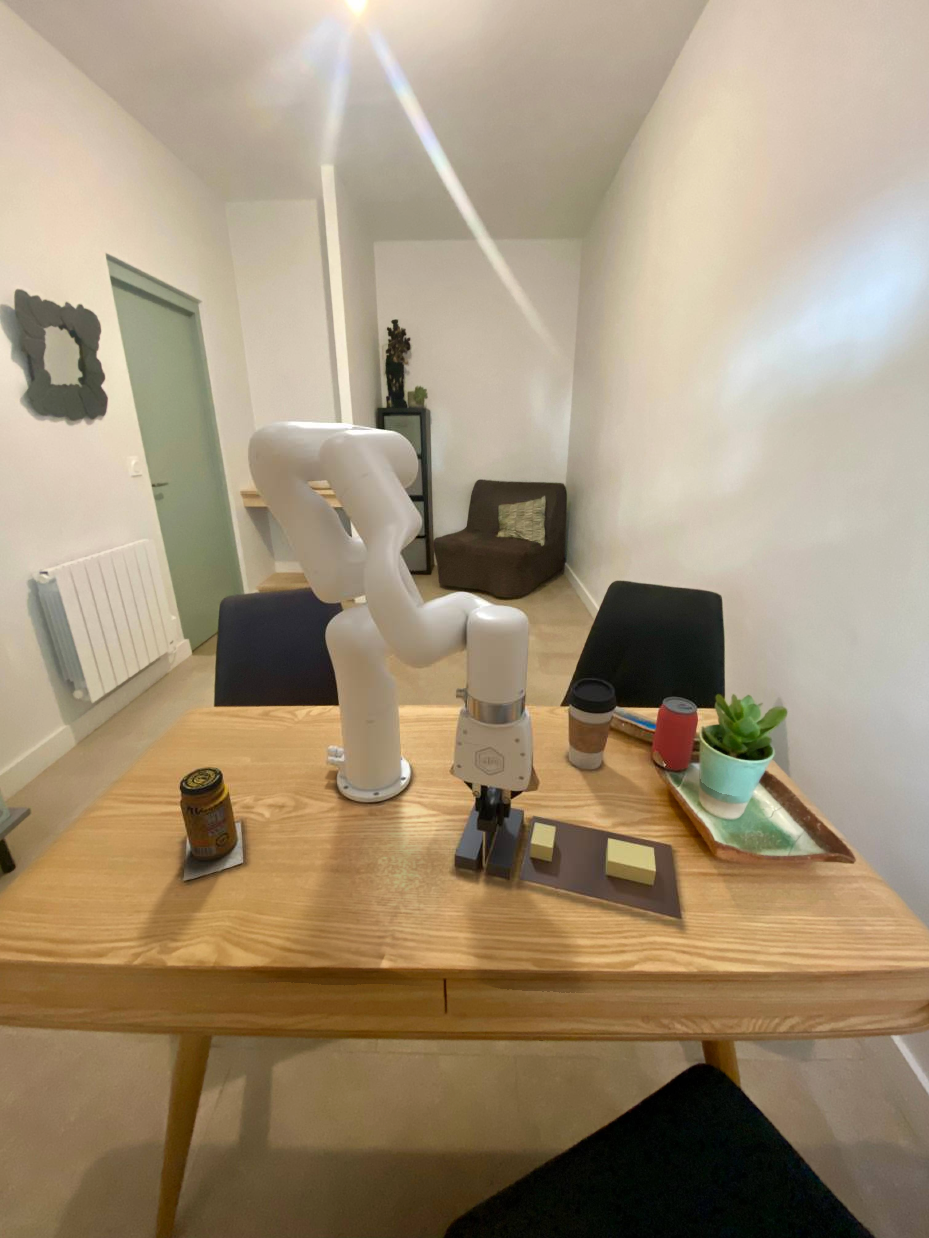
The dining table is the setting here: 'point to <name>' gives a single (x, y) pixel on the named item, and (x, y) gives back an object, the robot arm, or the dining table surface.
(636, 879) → the butter
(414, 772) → the dining table surface
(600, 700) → the coffee cup
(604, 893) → the board
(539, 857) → the butter slice
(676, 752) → the beer can
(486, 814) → the cleaver
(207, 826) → the condiment
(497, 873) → the stand
